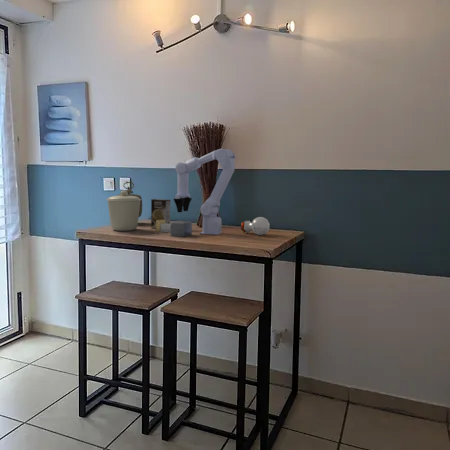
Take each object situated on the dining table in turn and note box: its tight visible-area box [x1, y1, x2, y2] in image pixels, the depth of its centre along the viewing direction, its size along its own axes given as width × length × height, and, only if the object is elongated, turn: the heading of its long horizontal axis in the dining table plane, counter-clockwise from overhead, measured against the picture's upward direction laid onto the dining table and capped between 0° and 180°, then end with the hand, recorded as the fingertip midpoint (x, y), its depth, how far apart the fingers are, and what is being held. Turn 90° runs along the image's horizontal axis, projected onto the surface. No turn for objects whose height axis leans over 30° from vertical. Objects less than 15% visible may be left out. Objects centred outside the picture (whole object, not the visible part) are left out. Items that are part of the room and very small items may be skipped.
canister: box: [106, 190, 141, 232], centre depth 226 cm, size 18×18×21 cm
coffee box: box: [150, 198, 172, 229], centre depth 236 cm, size 9×6×16 cm
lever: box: [155, 219, 171, 234], centre depth 223 cm, size 11×5×6 cm, turn 65°
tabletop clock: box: [115, 181, 143, 218], centre depth 253 cm, size 14×9×25 cm, turn 130°
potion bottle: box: [240, 216, 271, 236], centre depth 219 cm, size 9×10×15 cm
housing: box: [170, 220, 193, 238], centre depth 211 cm, size 7×10×6 cm
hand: (182, 211), depth 226 cm, fingers open, 7 cm apart
